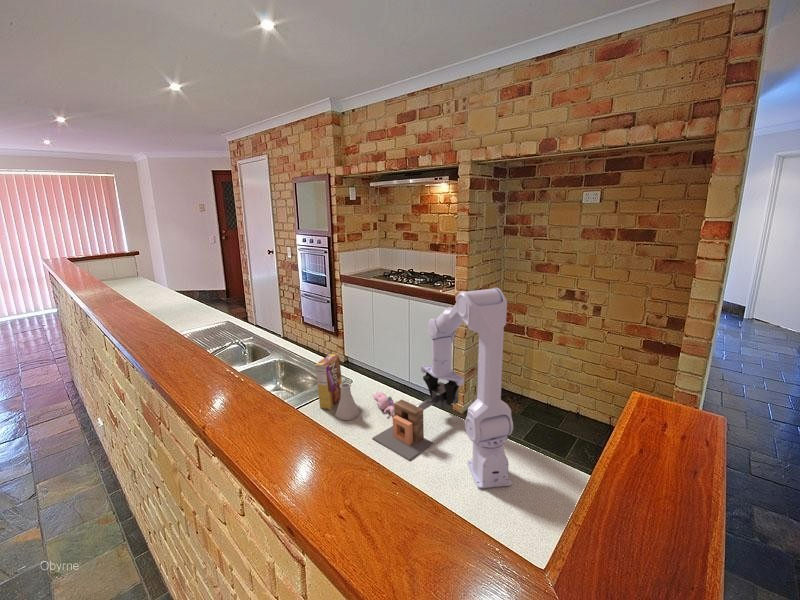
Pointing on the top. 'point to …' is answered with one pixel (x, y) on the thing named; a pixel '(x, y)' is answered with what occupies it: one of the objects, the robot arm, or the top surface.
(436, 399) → the shaft
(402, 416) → the bracket
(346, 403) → the flask
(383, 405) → the pink toy animal
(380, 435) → the mat
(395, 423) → the spacer
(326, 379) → the candy box
